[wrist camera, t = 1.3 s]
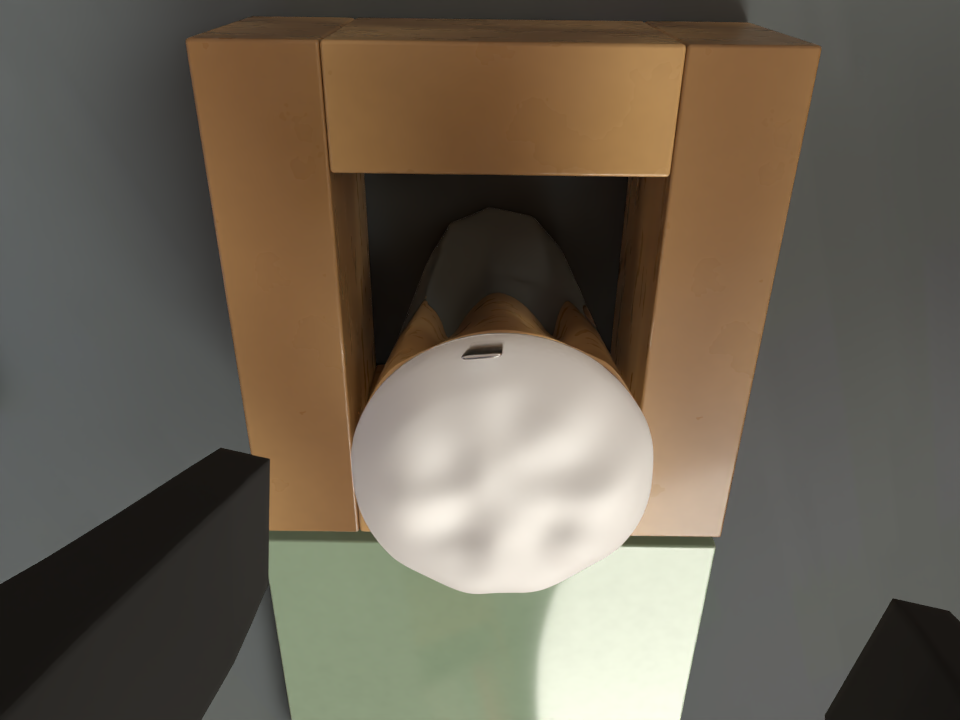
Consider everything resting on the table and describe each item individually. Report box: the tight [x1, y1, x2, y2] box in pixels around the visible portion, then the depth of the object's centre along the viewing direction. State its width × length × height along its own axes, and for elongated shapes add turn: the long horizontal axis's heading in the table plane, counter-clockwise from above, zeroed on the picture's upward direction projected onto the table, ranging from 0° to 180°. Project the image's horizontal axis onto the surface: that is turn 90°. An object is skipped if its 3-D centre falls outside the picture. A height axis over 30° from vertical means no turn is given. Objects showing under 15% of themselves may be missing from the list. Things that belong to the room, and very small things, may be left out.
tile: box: [268, 529, 716, 720], centre depth 25 cm, size 13×9×1 cm
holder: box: [185, 16, 821, 537], centre depth 17 cm, size 10×10×4 cm
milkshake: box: [351, 207, 653, 594], centre depth 14 cm, size 4×5×10 cm
